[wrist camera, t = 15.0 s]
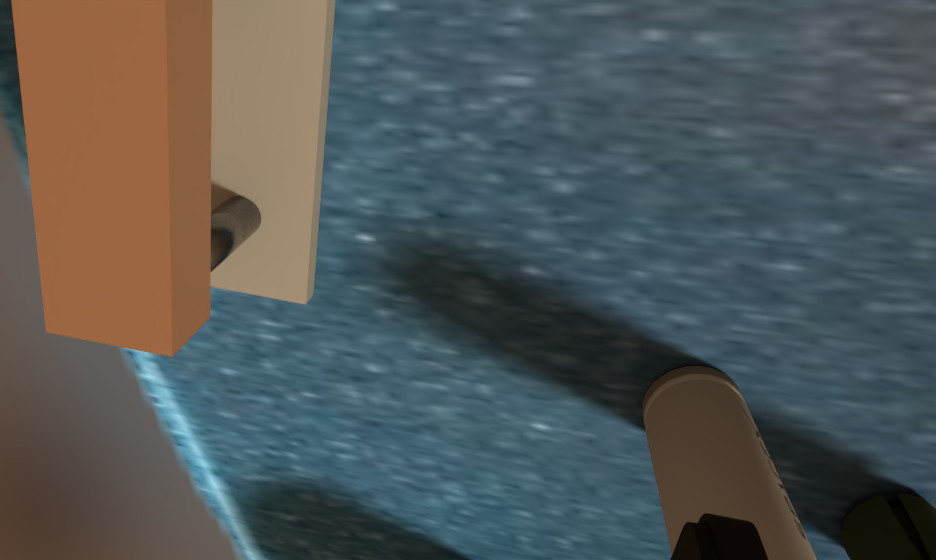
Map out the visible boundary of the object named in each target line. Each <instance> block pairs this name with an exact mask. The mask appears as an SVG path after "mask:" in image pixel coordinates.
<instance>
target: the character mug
mask: <svg viewBox="0 0 936 560" xmlns="http://www.w3.org/2000/svg"><path fill="white" fill-rule="evenodd" d="M898 496H899V498H900V500H901V501H902V503H903V505H904V507H905V508H897V507H896V508H892V509H891V508H890V506H889V505H888V503H887V502H886V500H885V498H884V497H883V496H875V497H873V498H871V499H869V500H867V501H865V502H863V503H861V504H859V505H857V506H856V507H855V508H854V510H853V511H852V512H851V513H850V514H849V515H848V516H847V517H846V518H845V519H844V523H843V530H842V537H841V540H842V542H843V545H844V548H845V550H846V553H847V555H848V556H849V558H850V559H851V560H936V509H935V508H934V507H933V506H932V505H931V504H929V503H928V502H927V501H926V500H924V499H923V498H920V497H916V496H913V495H909V494H905V493H900V494H898Z"/></svg>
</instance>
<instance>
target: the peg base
mask: <svg viewBox="0 0 936 560" xmlns="http://www.w3.org/2000/svg"><path fill="white" fill-rule="evenodd" d="M334 13H335V0H212V123H211V211H212V210H214V209H215V208H217V207H218V206H219V205H221V204H222V203H223V202H225V201H226V200H227V199H229V198H231V197H234V196H242V197H245V198H248V199H249V200H251V201H252V202H253V203H254V204H255V205H256V206H257V207H258V209H259V211H260V214H261V224H260V226H259V228H258V229H257V231H255V232H254V233H253V234H252V235H251V236H250V237H249V238H248V239H247V240H246V241H245V242H243V243H242V244H241V245H240V246H239V247H238V248H237V249H236V250H235V251H234V252H233V253H232V254H230V255H229V256H228V257H227V258H226V259H225V260H224V261H223V262H222V263H221V264H220V265H218V266H217V267H216V268H215V269H214V270H213V271H212V272H211V273H210V286H212V287H217V288H222V289H227V290H233V291H238V292H243V293H248V294H254V295H259V296H264V297H269V298H274V299H280V300H285V301H290V302H295V303H301V304H307V302H308V301H309V300H310V298H311V297H312V295H313V292H314V278H315V265H316V252H317V239H318V225H319V212H320V199H321V186H322V172H323V159H324V146H325V133H326V119H327V106H328V93H329V80H330V66H331V53H332V40H333V27H334Z"/></svg>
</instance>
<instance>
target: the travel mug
mask: <svg viewBox="0 0 936 560" xmlns="http://www.w3.org/2000/svg"><path fill="white" fill-rule="evenodd" d="M642 417H643V421H644V426H645V429H646V435H647V440H648V445H649V449H650V454H651V459H652V464H653V468H654V473H655V478H656V482H657V487H658V492H659V496H660V501H661V506H662V510H663V515H664V520H665V524H666V529H667V534H668V539H669V543H670V548H671V553H672V554H673V552H674V549H675V547H676V544H677V541H678V539H679V536H680V533H681V531H682V529H683V527H684V525H685V524H686V523H687V522H693V523H698V521H699V519H700V517H701V516H702V515H703V514H705V513H709V514H715V515H720V516H725V517H730V518H735V519H740V520H745V521H750V522H752V523H753V524H754V525H755V527H756V529H757V530H758V533H759V535H760V538H761V541H762V543H763V546H764V549H765V551H766V554H767V557H768V559H769V560H817V559H816V557H815V554H814V552H813V550H812V548H811V546H810V543H809V541H808V539H807V537H806V535H805V532H804V530H803V528H802V526H801V524H800V521H799V519H798V517H797V515H796V513H795V510H794V508H793V506H792V504H791V502H790V499H789V497H788V495H787V493H786V491H785V488H784V486H783V484H782V482H781V480H780V478H779V475H778V473H777V471H776V469H775V467H774V464H773V462H772V460H771V458H770V456H769V453H768V451H767V449H766V447H765V445H764V442H763V440H762V438H761V436H760V434H759V431H758V429H757V427H756V425H755V423H754V420H753V418H752V416H751V414H750V412H749V409H748V407H747V405H746V403H745V401H744V398H743V396H742V394H741V392H740V390H739V388H738V386H737V385H736V384H735V382H734V381H733V380H732V379H731V378H730V377H728V376H727V375H726V374H724V373H722V372H720V371H718V370H716V369H712V368H709V367H703V366H687V367H682V368H678V369H674V370H672V371H670V372H667V373H666V374H664V375H663V376H661V377H659V378H658V379H657V380H656V381H655V382H654V383H653V384H652V385H651V386H650V388H649V389H648V390H647V392H646V394H645V397H644V399H643V404H642Z"/></svg>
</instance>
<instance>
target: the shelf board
mask: <svg viewBox="0 0 936 560" xmlns="http://www.w3.org/2000/svg"><path fill="white" fill-rule="evenodd" d="M11 2H12V11H13V21H14V30H15V40H16V49H17V59H18V68H19V78H20V87H21V97H22V106H23V116H24V125H25V135H26V144H27V154H28V163H29V173H30V182H31V192H32V201H33V211H34V220H35V230H36V239H37V249H38V258H39V268H40V277H41V287H42V296H43V306H44V314H45V325H46V332H48V333H53V334H58V335H63V336H68V337H73V338H78V339H83V340H89V341H94V342H99V343H104V344H109V345H114V346H119V347H125V348H130V349H135V350H140V351H145V352H150V353H155V354H160V355H166V356H171V357H173V356H174V355H175V354H176V353H177V352H178V350H179V349H180V348H181V347H182V346H183V345H184V344H185V343H186V342H187V341H188V340H189V339H190V338H191V337H192V336H193V335H194V334H195V333H196V332H197V331H198V330H199V328H200V327H201V326H202V325H203V324H204V323H205V322H206V321H207V320H208V319H209V318H210V263H211V123H212V0H11Z"/></svg>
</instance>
